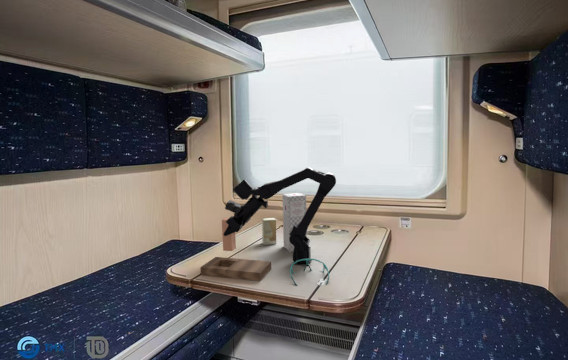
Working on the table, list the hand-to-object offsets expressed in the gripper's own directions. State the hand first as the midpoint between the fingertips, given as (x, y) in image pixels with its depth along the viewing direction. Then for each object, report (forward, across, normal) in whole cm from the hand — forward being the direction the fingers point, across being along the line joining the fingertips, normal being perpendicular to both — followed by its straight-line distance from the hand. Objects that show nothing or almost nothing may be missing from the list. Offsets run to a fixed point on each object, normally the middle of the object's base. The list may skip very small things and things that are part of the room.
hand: (225, 233), depth 144 cm
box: (-11, -19, +27) cm, 35 cm away
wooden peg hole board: (+3, +12, +13) cm, 18 cm away
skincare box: (-1, -25, +18) cm, 31 cm away
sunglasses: (-16, +15, +34) cm, 41 cm away
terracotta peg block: (+4, 0, +6) cm, 7 cm away
